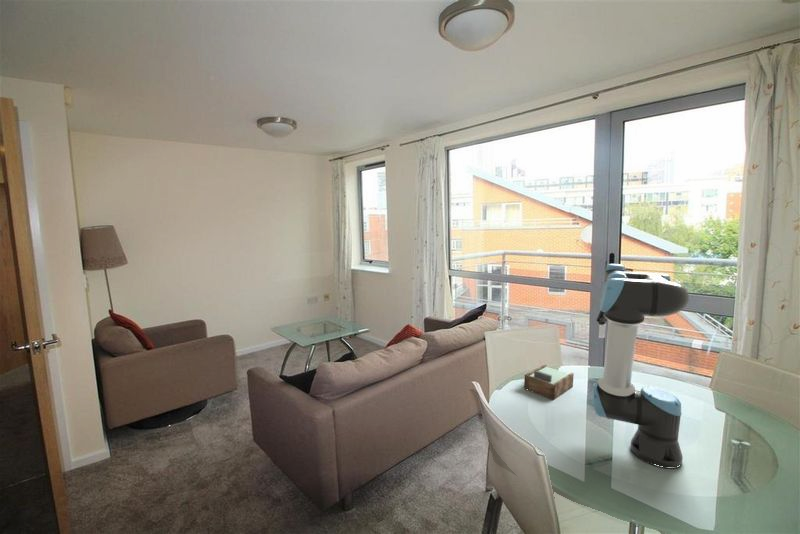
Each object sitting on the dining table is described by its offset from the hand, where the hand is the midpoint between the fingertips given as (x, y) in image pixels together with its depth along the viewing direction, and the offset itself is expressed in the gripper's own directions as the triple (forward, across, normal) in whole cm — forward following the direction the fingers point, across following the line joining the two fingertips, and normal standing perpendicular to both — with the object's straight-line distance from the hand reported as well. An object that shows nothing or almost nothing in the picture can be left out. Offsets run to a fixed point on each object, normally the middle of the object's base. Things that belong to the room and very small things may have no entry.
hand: (609, 342), depth 168 cm
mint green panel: (+20, +9, +23) cm, 32 cm away
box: (+26, +8, +24) cm, 36 cm away
